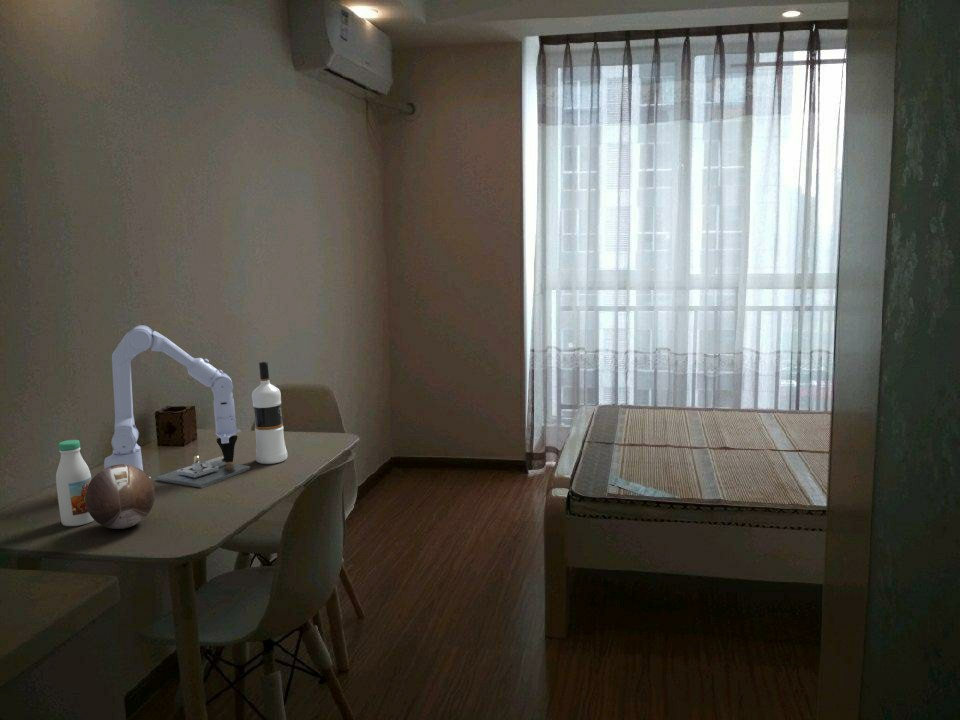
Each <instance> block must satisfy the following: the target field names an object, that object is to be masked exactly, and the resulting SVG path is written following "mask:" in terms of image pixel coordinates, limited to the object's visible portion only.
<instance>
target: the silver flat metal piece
mask: <svg viewBox="0 0 960 720" xmlns="http://www.w3.org/2000/svg"><path fill="white" fill-rule="evenodd" d="M205 463H206V464H204V463H203V469H202V470H199V471H193V468H192V466H189V465H188V466H189V467H187V466H185V467H186V468H184V467H182V468H183V469H181V468H178V469H179V470H178V469H176V470H177V474H181V475H185V476H190V477H194V478H195V477H198V476H202V475H205V474H208V473H211V472H214V471H217V470H219V466H223V465H227V464H230V463H231V464H234V461H233V462H225V460H224V456H223V455H220V456H218V457H215V458H212V459H208V461H205Z"/></svg>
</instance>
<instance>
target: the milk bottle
mask: <svg viewBox="0 0 960 720" xmlns="http://www.w3.org/2000/svg"><path fill="white" fill-rule="evenodd" d="M81 449H82V448H81V443H80V440H79V439H68V440H64V441H61V442H59V443H58V450H59V451H58V452H59V453H60V459H59V463H58V465H57V466H58V467H57V470H56V475H55V483H56V485H55V486H56V491H57V492H56V493H57V502H58V509H59V515H60V521H61V525H63V526H65V527H77V526H82V525H87V524H89V523H91V522H94V521H95V520H94V519H93V518H92V517H91V515H90V514H89V512H88V510H87V507H86V502H85V495H86V490H87V487H88V485H89V483H90V482H91V480H92V479H93V478H92V474H91V471H90V468H89V466H88V464H87V463H86V461H85V460H84V459H83V456H82V454H81V452H80V451H81Z"/></svg>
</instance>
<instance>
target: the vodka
mask: <svg viewBox="0 0 960 720" xmlns="http://www.w3.org/2000/svg"><path fill="white" fill-rule="evenodd" d="M258 365H259V367H258V368H259V379H260V384H259V385H258V386H257V387H256V388H254V389H253V390H252V392H251V393H252V394H251V400H252V406H253V407H252V408H253V418H254V432H255V440H256V441H255V443H256V447H255V449H256V450H255V461H256V462H257V463H259V464H261V465H273V464H280V463H282V462H284V461H286V460H287V458H288V457H289V456H288V450H287V448H286V441H285V435H284V425H283V414H282V413H283V412H282V395H281V394H282V393H281V390H280V389H279V388H278V387H276V386H275V385H274V384H273V383H272V384H271V382H270V375H269V374H270V371H269V362H268V361H260V362H259V363H258Z"/></svg>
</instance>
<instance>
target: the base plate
mask: <svg viewBox="0 0 960 720" xmlns="http://www.w3.org/2000/svg"><path fill="white" fill-rule="evenodd" d="M208 460H209V459H208ZM208 460H207V459H204V460H201V461H200V455H194V456H193V463H192V464H190V465H187V466H185V467H182V468H178V469H176V470H173V471H169V472H166V473H164V474H161V475H158V476H156V477H155V479H156V480H155V481H158V482H162V483H163V482H164V483H168V484H169V483H170V484H174V485H175V484H177V485H182V486H187V487H193V488H200V489H203V488H205V487H208V486H210V485H214V484H216V483H219V482H221V481H223V480H226V479H229V478H232V477H235V476H237V475H239V474H242V473H245V472H247V471H250V470H251V466H250V465H244V464H237V463H230V464H227V465H223V466H219V470H217V471H214V472H211V473H208V474H205V475H202V476H198V477H195V478H194V477H190V476H185V475H181V474H177V470H179V469H183V468H186V467H189V466H192V468H193V471H199V470H202V469H203V463H204V464H206V463H205V461H208Z"/></svg>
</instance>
